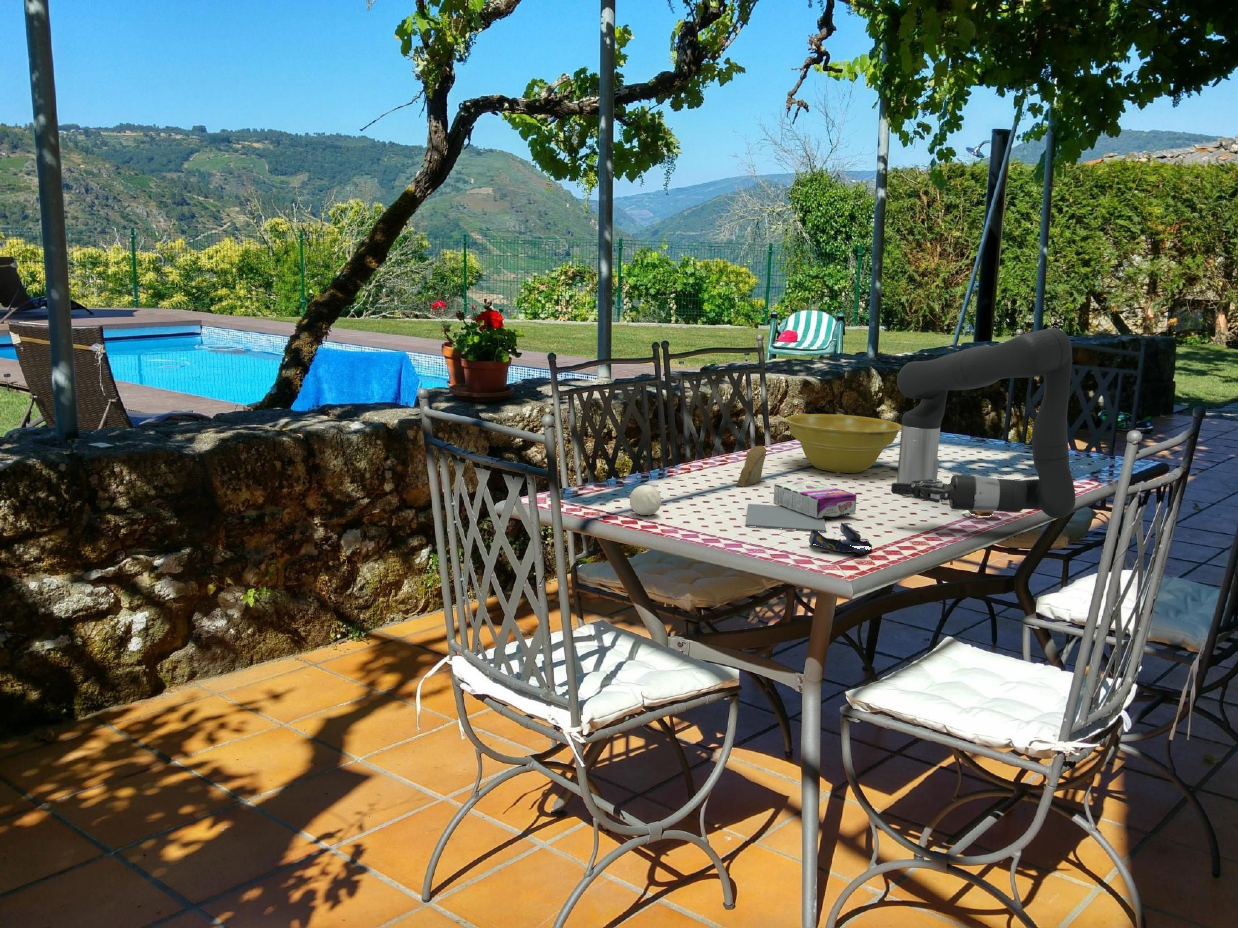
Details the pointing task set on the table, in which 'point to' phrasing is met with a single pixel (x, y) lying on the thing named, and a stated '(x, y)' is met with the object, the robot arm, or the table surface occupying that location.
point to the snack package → (840, 545)
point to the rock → (752, 466)
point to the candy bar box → (814, 499)
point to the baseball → (645, 500)
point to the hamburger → (982, 513)
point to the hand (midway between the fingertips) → (891, 488)
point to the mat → (781, 518)
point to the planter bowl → (842, 440)
